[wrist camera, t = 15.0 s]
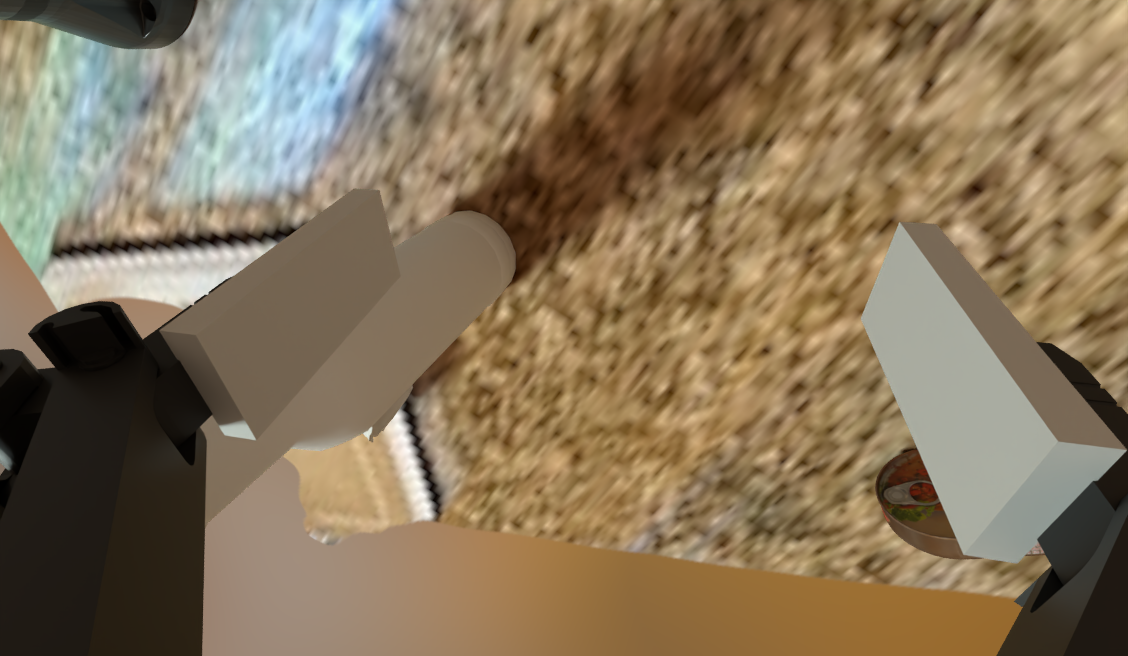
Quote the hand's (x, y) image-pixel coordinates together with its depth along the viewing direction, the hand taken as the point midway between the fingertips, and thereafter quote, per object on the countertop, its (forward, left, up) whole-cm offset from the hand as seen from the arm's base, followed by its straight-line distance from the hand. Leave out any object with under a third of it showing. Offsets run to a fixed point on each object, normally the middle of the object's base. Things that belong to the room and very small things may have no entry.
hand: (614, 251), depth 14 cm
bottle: (-16, -12, -25) cm, 32 cm away
